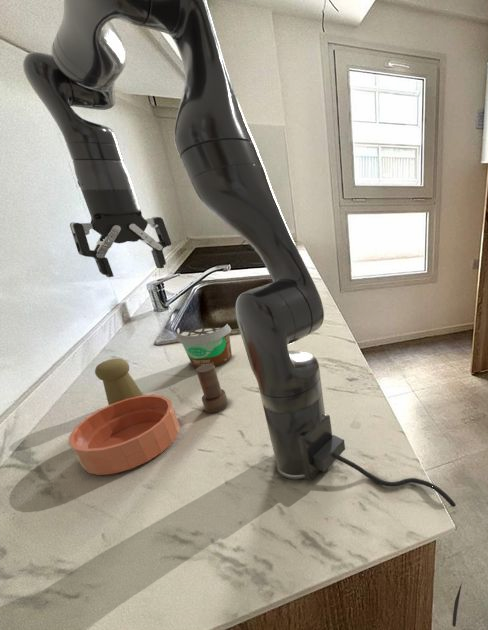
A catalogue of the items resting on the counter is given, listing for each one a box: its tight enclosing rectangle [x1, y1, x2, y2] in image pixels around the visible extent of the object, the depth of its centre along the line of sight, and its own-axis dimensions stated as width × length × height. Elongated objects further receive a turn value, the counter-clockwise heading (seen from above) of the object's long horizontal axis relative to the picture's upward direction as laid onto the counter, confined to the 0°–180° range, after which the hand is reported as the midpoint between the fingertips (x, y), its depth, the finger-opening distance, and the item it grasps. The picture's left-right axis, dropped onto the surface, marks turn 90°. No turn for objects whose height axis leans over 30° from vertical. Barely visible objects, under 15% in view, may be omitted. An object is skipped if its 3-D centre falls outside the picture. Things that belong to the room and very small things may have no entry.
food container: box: [176, 323, 233, 369], centre depth 84 cm, size 12×6×10 cm, turn 105°
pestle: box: [195, 364, 229, 414], centre depth 70 cm, size 4×4×10 cm
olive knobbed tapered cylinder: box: [94, 357, 144, 405], centre depth 70 cm, size 6×6×11 cm
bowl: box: [68, 394, 181, 476], centre depth 61 cm, size 14×14×6 cm
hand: (136, 272), depth 68 cm, fingers open, 8 cm apart
